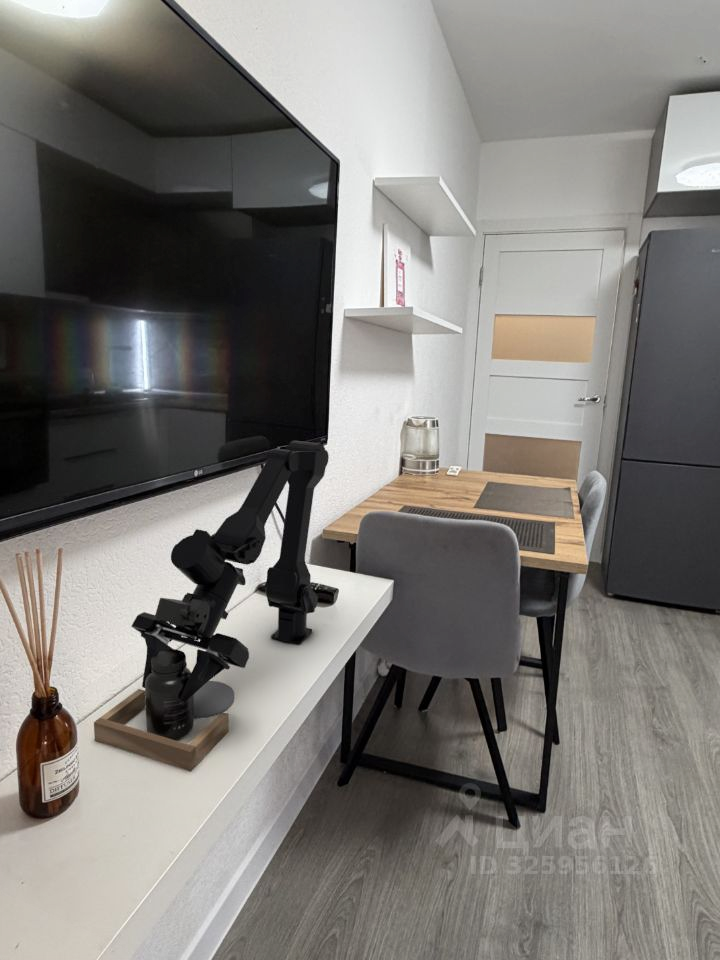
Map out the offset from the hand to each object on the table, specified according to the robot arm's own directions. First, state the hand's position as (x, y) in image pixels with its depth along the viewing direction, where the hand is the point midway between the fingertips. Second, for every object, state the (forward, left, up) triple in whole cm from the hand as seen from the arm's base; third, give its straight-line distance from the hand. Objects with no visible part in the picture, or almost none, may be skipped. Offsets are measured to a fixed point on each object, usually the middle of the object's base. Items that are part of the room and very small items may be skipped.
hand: (163, 694), depth 87 cm
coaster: (-10, 0, -7) cm, 12 cm away
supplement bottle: (-1, 0, -7) cm, 7 cm away
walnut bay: (0, 0, -7) cm, 7 cm away
